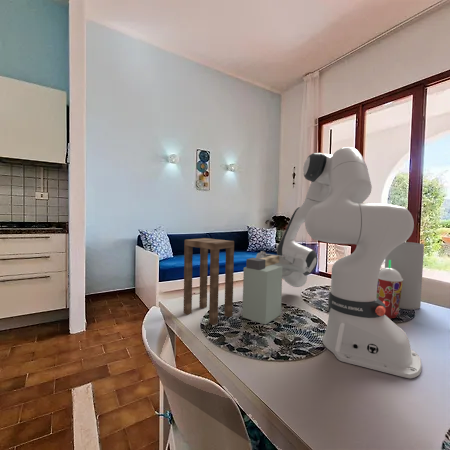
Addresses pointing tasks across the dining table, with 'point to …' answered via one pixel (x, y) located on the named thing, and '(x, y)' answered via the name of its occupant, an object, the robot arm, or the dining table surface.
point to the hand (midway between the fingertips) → (272, 254)
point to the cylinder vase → (408, 272)
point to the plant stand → (214, 275)
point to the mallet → (261, 262)
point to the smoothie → (390, 290)
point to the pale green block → (262, 293)
